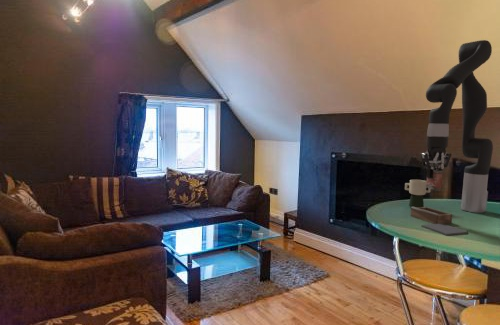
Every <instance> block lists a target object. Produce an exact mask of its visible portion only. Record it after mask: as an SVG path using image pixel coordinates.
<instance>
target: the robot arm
mask: <svg viewBox="0 0 500 325" xmlns="http://www.w3.org/2000/svg"><path fill="white" fill-rule="evenodd" d="M492 49H493V48H492V44H491V42H490V41H488V40H486V39H485V40H484V39H481V40H475V41H470V42H466V43H462V44H461V45H460V47H459V50H458V64H455V65H454V66H453V67H451V68H450V69H449V70H448V71H447V72H446V73H445V74H444V76H442V77H441V78H439V79H438V80H436V81H434V82H433V83H431V84H430V85H429V86H428V88H427V89H426V93H425V98H426V100H427V102H429V103H433V104H435V103H436V104H439V103H441V104H440V106H439V107H436V108H432V109H431V110H430V111H429V117H428V126H427V130H426V131H427V132H426V145H425V146H426V147H427V150H426V151H425V152H420V159H421V164H422V165H421V166H422V168H426V179H427V178H430V179H432V178H433V167H434V164H437V165H441V168H439V170H440V171H443V170H444V169H445V168H448V166H449V163H450V161H451V157H452V153H450V152H447V151H446V149H447V148H448V146H449V133H450V127H449V126H450V123H449V122H450V113H451V112H452V108H453V105H454V102H455V100H456V98H457V95H458V94H457V93H458V90H457V89H458V88H459V87H460V86H461V105H462V138H461V140H462V141H461V150H462V155H463V156H464V157H465V158H468V159H477V162H476V163H474V164H470V165H467V166H464V172H463V183H462V191H461V192H462V194H461V205H460V210H462V211H465V212H470V213H477V214H478V213H479V214H481V213H485V212H486V211H487V206H488V196H489V195H488V194H489V191H488V190H487V189H488V181H489V172H490V169H491V165H492V163H491V162H492V155H493V150H494V145H493V141H492V140H491V139H489V138H485V137H484V138H481V137H479V138H478V137H475V136H476V135H475V134H476V127H477V125H478V123H479V122H480V120H482V118H483V117H484V115H485V113H486V111H487V108H488V95H487V92H486V90H485V88H484V86H483V85H482V84H481V83H480V81H478V79H477V78H476V75H475V73H474V71H476V70H477V69H478V68H479V67H481V66H482V65H484V64H485V63H486V62H488V60H489V59H490V58H491V55H492ZM430 164H431V166H430ZM443 172H444V171H443Z"/></svg>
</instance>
